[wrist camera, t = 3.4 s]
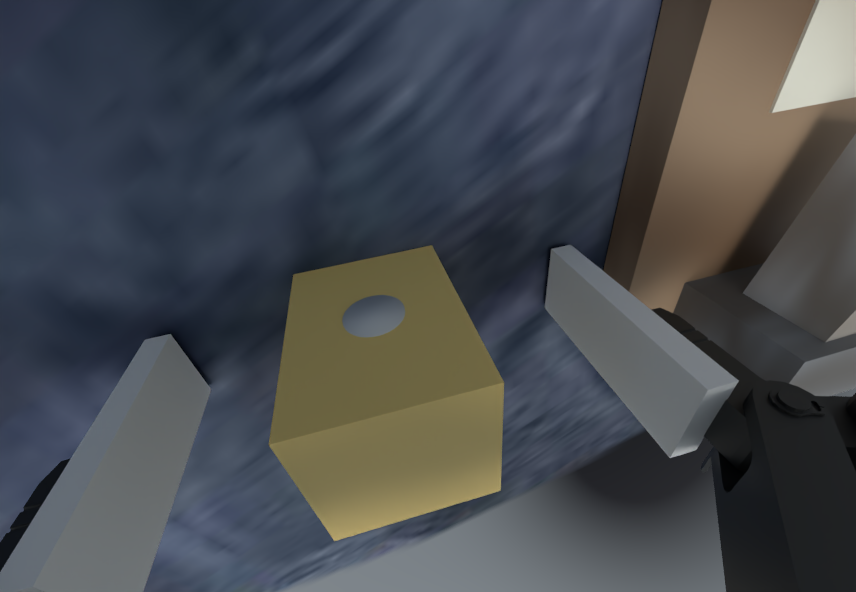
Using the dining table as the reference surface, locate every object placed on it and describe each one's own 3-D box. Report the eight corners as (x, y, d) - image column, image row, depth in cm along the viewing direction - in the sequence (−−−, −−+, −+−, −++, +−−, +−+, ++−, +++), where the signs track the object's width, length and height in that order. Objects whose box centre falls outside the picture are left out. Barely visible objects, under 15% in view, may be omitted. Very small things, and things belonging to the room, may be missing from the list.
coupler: (291, 272, 11) (265, 443, 6) (432, 243, 12) (506, 380, 7) (330, 371, 14) (333, 542, 9) (444, 343, 14) (502, 490, 10)
